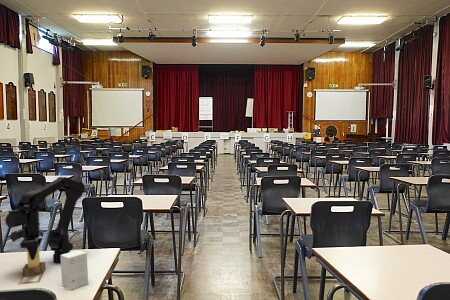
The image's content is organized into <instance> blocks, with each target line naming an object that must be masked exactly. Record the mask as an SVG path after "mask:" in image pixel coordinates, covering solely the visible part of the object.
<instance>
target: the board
mask: <svg viewBox="0 0 450 300" xmlns="http://www.w3.org/2000/svg"><path fill="white" fill-rule="evenodd" d="M44 273H45V272H44ZM44 273H43V274H40V275H33V276H23V275H22V277H21V279H20V280H19V282H18V284H17V285H18V286H19V285H28V284H37V283H40V282H41V281H42V277H43V275H44Z"/></svg>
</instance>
